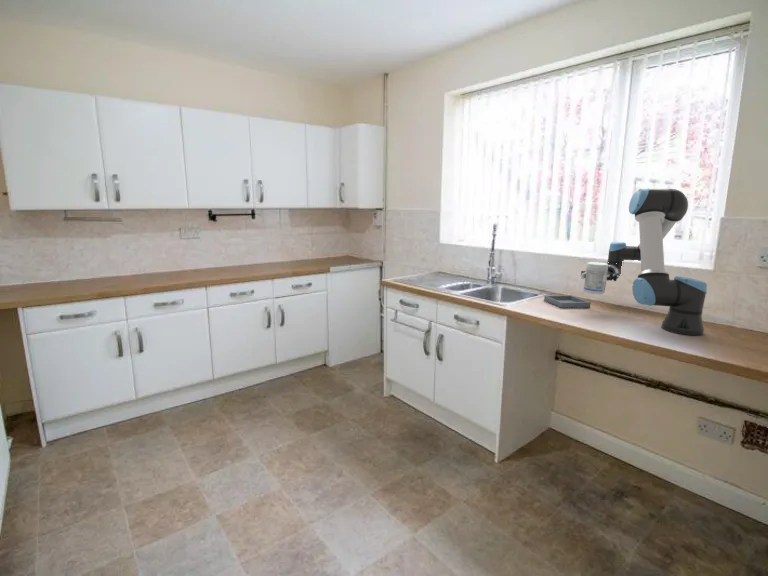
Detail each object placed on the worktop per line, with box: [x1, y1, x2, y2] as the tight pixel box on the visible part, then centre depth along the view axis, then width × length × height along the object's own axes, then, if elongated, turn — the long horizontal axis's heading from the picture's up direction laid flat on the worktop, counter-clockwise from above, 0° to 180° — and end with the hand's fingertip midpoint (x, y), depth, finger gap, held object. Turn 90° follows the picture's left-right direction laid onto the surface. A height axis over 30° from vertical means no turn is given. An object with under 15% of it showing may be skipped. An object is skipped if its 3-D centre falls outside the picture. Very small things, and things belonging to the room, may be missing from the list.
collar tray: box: [543, 294, 591, 309], centre depth 223 cm, size 17×17×3 cm
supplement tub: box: [583, 261, 608, 295], centre depth 205 cm, size 10×10×15 cm
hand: (592, 277), depth 201 cm, fingers closed on supplement tub, 9 cm apart
